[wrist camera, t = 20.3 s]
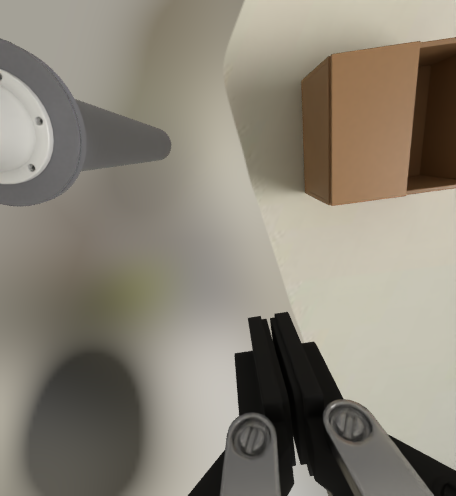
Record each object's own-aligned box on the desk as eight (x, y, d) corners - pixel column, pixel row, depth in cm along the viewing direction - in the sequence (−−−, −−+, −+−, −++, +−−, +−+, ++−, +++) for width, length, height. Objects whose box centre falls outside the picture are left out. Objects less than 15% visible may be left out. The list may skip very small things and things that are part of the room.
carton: (304, 193, 35) (328, 205, 27) (301, 80, 31) (327, 56, 23) (419, 177, 34) (478, 185, 27) (432, 61, 30) (506, 29, 22)
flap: (330, 205, 27) (331, 206, 26) (330, 55, 22) (331, 54, 22) (404, 195, 26) (406, 196, 26) (418, 42, 22) (420, 40, 22)
